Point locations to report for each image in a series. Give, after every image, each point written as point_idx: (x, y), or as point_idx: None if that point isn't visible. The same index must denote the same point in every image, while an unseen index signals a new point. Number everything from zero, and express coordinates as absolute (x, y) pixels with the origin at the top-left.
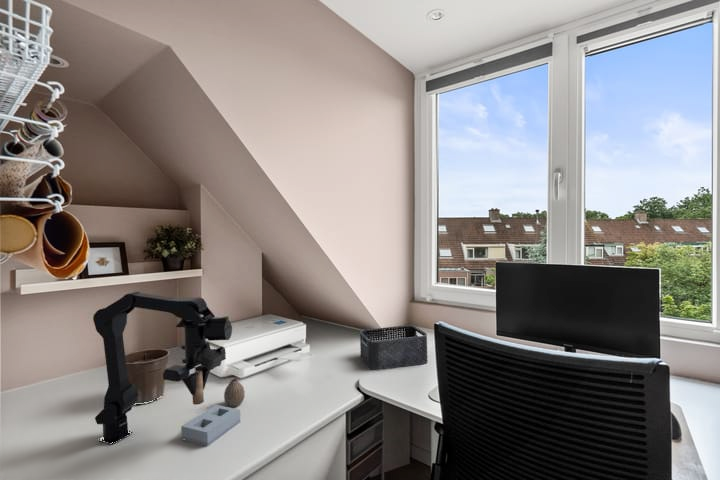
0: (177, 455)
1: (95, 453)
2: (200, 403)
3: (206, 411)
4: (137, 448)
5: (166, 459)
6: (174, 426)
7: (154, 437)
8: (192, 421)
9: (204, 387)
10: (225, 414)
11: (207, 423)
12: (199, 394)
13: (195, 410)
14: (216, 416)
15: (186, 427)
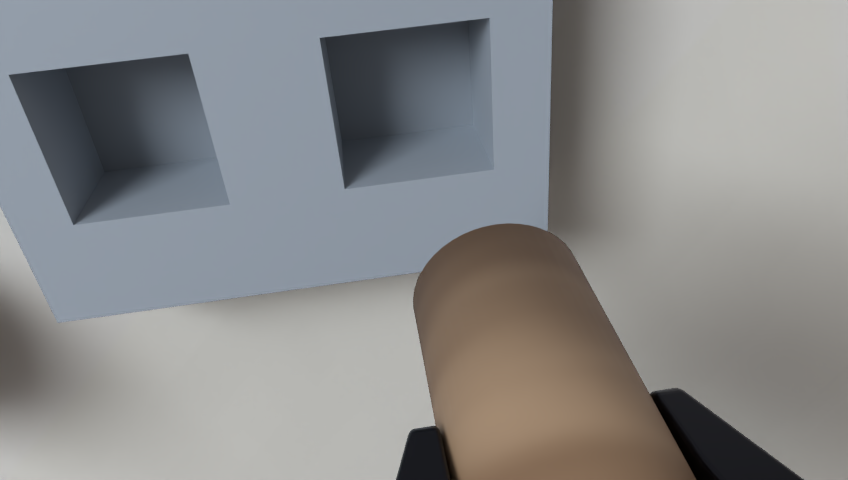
0: (713, 10)
1: (784, 460)
2: (529, 228)
3: (219, 285)
4: (697, 339)
5: (777, 45)
6: (401, 380)
7: None
8: (436, 238)
9: (408, 462)
10: (114, 32)
11: (334, 114)
12: (595, 342)
13: (158, 448)
14: (223, 96)
15: (547, 192)
